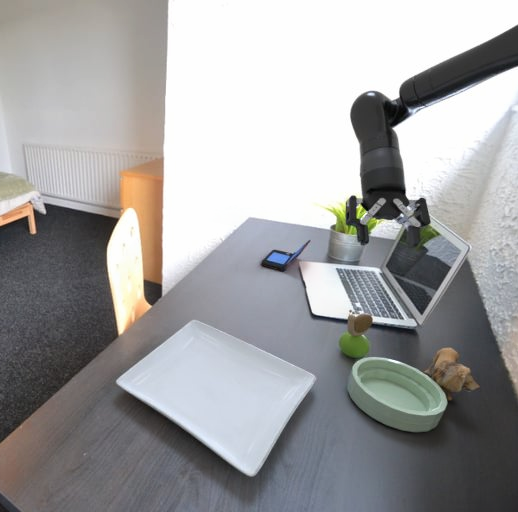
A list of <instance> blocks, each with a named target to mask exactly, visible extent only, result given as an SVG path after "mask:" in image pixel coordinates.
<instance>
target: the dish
mask: <svg viewBox="0 0 518 512" xmlns="http://www.w3.org/2000/svg"><path fill="white" fill-rule="evenodd" d="M431 378H432V377H431V376H428V375H426V374H424V372H423V371H421V370H419V369H418V368H416V367H413V366H411V365H409V364H406V363H404V362H401V361H398V360H394V359H391V358H386V357H380V356H379V357H378V356H371V357H364V358H363V357H362V358H361V359H359V360H356V361H355V362H354V364H353V365H352V367H351V370H350V372H349V376H348V379H347V381H346V383H347V386H346V390H347V392H348V394H349V397H350V399H352V401H353V402H354V404H355V405H356V406H357V407H358V409H360V410H361V411H363V412H364V413H366V414H367V415H368V416H369V417H371V418H372V419H374V420H376V421H377V422H380V423H381V424H384V425H386V426H388V427H391V428H393V429H397V430H400V431H405V432H411V433H423V432H430V431H431V430H432V429H435V428H436V427H437V426H438V424H439V423H440V421H441V419H442V416H443V414H444V413H445V411H446V408H447V406H448V400H447V399H446V395H445V393H444V392H443V391H444V390H443V389H441V388H440V386H439V385H438V384H437V383H436V382H434V381H433V380H432V379H431Z"/></svg>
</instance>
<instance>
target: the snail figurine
mask: <svg viewBox="0 0 518 512" xmlns="http://www.w3.org/2000/svg"><path fill="white" fill-rule="evenodd" d="M348 312H349V315H348V316H347V324H346V325H347V326H346V329H347V331H346V332H344V333H343V334H342V335H341V336H340V337H339V340H338V346H339V349H340V351H341V352H342V353H343V354H344V355H346V356H347V357H348V358H349V357H350V358H354V359H358V358H363V357H365V356H366V355H367V354H368V353H369V351H370V347H371V344H370V341H369V339H368V338H367V336H365V335H364V334H366V333H367V332H368V330H369V329H370V328H371V326H372V324H373V322H374V321H373V316H372V315H371V314H370V313H367V312H365V313H364V312H363V313H360V314H358V315H357V316H355V314H356V311H354V310H352V309H349V310H348Z"/></svg>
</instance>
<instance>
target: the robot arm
mask: <svg viewBox="0 0 518 512" xmlns="http://www.w3.org/2000/svg"><path fill="white" fill-rule="evenodd" d="M517 67H518V24H516V25H514V26H512V27H511V28H509V29H507V30H505V31H503V32H501V33H500V34H497V35H496V36H494V37H492V38H490V39H488V40H486V41H484V42H482V43H480V44H478V45H475V46H473V47H471V48H469V49H467V50H465V51H463V52H461V53H458V54H456V55H454V56H451V57H449V58H447V59H445V60H443V61H441V62H439V63H437V64H435V65H433V66H431V67H429V68H427V69H425V70H422V71H421V72H419V73H417V74H414V75H413V76H411V77H408V78H407V79H405V80H404V81H403V82H402V83H401V84H400V86H399V89H398V96H399V97H397V98H395V99H390V97H388V96H387V95H385V94H384V93H383V92H381V91H378V90H367V91H365V92H362V93H361V94H359V95H358V96H357V97H356V98H355V100H353V102H352V104H351V107H350V110H349V111H350V112H349V120H350V123H351V126H352V130H353V132H354V135H355V138H356V139H357V142H358V144H359V145H358V146H359V160H360V162H359V163H360V164H359V178H360V187H361V197H362V198H361V197H357V196H356V195H354V194H352V195H351V196H349V198H348V199H347V200H346V201H345V221H344V222H345V226H348V227H354V228H355V229H356V240H357V242H358V243H360V246H367V245H368V244H369V242H370V235H369V225H368V224H367V223H368V222H369V221H370V220H371V219H372V218H373V219H375V220H378V221H381V220H386V221H395V222H396V223H397V224H398V225H401V226H402V227H404V229H406V230H407V231H406V232H405V233H406V241H407V247H408V249H415V248H417V247H418V246H419V245H420V244H421V242H422V239H421V237H422V236H421V231H420V230H423V229H425V228H426V227H428V226H429V225H430V224H431V222H432V220H431V216H430V212H429V207H428V204H427V199H426V198H425V197H419V198H418V199H409V198H408V196H407V185H406V177H405V170H404V169H405V168H404V161H403V158H402V154H401V149H400V141H399V136H398V134H397V132H396V130H395V128H396V127H398V126H399V125H401V124H402V123H404V122H406V121H407V120H408V119H410V118H411V117H413V116H415V115H416V114H417V113H419V112H421V110H424V109H426V108H429V107H432V106H433V105H435V104H439V103H440V102H443V101H445V100H447V99H450V98H452V97H454V96H457V95H459V94H462V93H463V92H466V91H468V90H470V89H472V88H474V87H476V86H478V85H481V84H482V83H484V82H486V81H488V80H490V79H492V78H494V77H497V76H498V75H501V74H503V73H505V72H506V73H507V72H508V71H510V70H512V69H515V68H517ZM359 206H361V207H362V208H363V209H364V210H365V212H366V213H365V214H364V215H363V216H362V217H361V218H359V217H357V216H358V213H357V211H358V207H359ZM409 208H410V209H409ZM401 215H402V216H401Z"/></svg>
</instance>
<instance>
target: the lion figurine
mask: <svg viewBox="0 0 518 512" xmlns="http://www.w3.org/2000/svg"><path fill="white" fill-rule="evenodd" d="M459 358H460V355H459V352H457V351H456V350H455V349H454V348H452V347H442V348H441V349H439V350H438V351H437V353H436V354H435V355H434V357H433V358H432V359H431V361H432V362H431V365H429V367H428V368H427V369H426V370H424V371H423V373H424V374H426V375H427V376H429V377H430V378H431V379H432V380H433V381H434V382H436V383H437V384H438V385H439V386H440V388H441V389H442V390H443V392H444V393H445V395H446V399H447V401H452V400H453V398H452V397H451V396H450V394H451V393H460V392H461V391H462V390H463V389H464V390H465V391H466V392H468V393H470V392H472V391H475V390H477V389H479V388H480V385H479V384H478V383H477V382H476V381H475V380H474V377H473V376H472V375H471V373H472V372H471V368H470V367H468V366H464V365H463V364H461V363H459Z"/></svg>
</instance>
